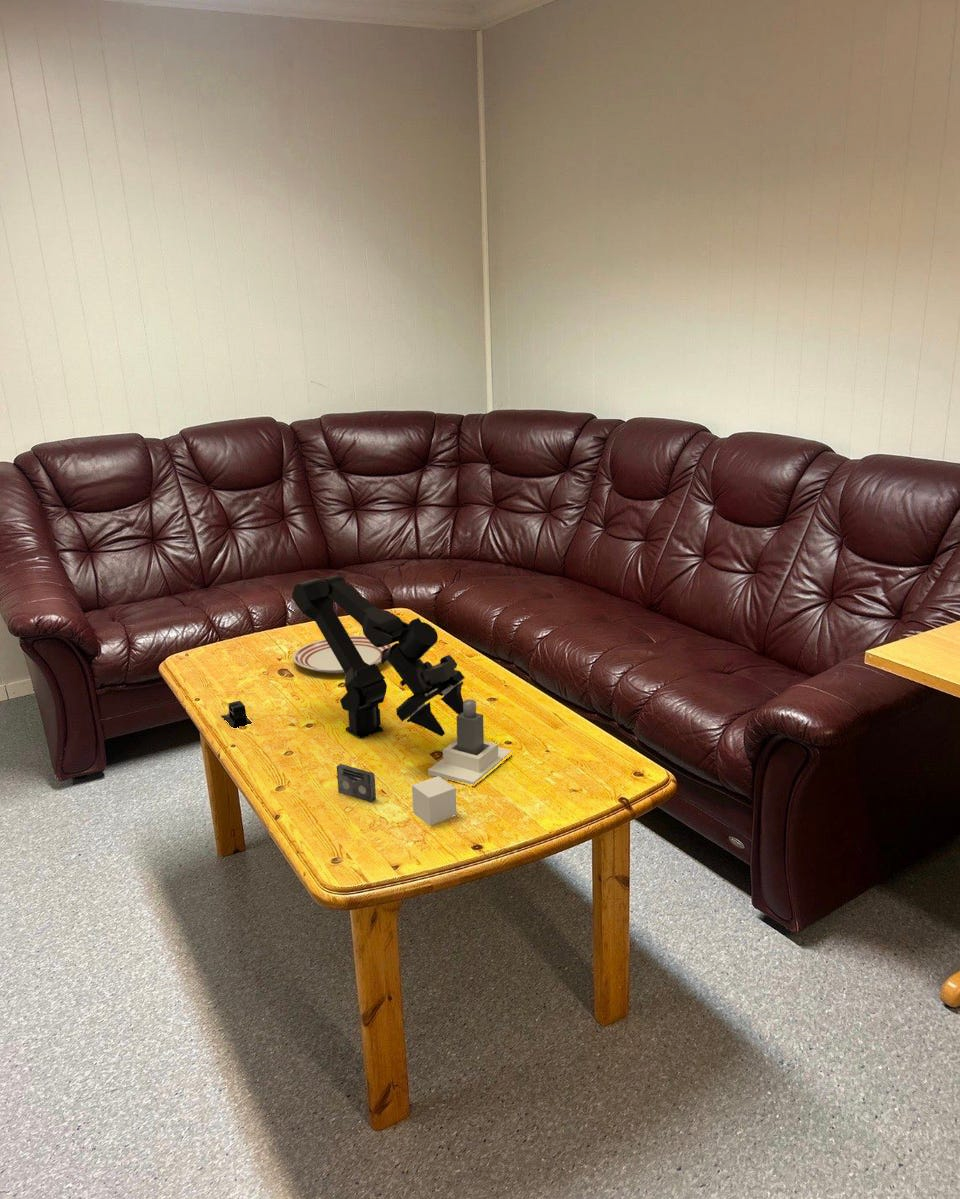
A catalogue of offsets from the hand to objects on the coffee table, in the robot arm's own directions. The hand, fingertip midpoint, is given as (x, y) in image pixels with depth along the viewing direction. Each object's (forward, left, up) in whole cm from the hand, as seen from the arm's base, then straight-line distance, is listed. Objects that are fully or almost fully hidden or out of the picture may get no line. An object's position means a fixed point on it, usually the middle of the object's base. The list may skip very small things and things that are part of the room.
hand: (455, 726), depth 195 cm
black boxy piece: (-25, +52, -9) cm, 58 cm away
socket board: (+1, -4, -8) cm, 9 cm away
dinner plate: (+15, +67, -8) cm, 69 cm away
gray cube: (-17, -14, -8) cm, 24 cm away
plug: (+1, -4, -7) cm, 8 cm away
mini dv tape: (-24, +2, -8) cm, 25 cm away
